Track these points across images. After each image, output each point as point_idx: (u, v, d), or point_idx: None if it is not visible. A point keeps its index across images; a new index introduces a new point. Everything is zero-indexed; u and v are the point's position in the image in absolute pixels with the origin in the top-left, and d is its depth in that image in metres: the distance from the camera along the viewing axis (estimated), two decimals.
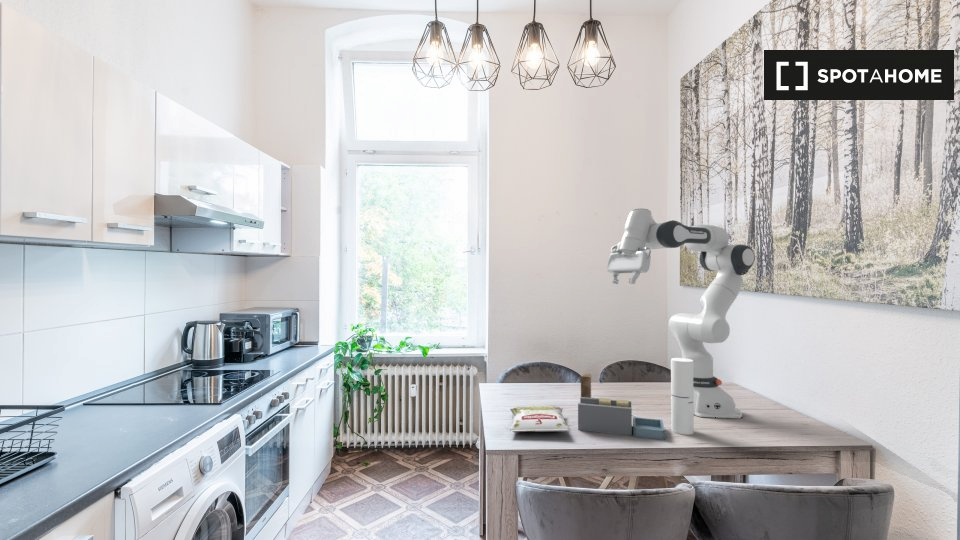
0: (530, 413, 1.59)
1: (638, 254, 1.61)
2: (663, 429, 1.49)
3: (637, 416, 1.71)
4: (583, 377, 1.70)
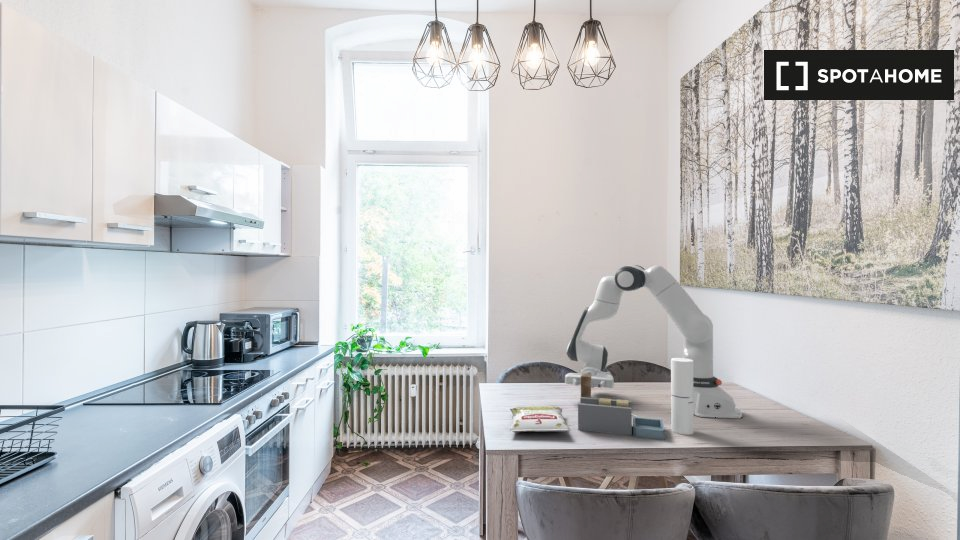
0: (530, 413, 1.59)
1: None
2: (663, 429, 1.49)
3: (637, 416, 1.72)
4: (583, 377, 1.70)
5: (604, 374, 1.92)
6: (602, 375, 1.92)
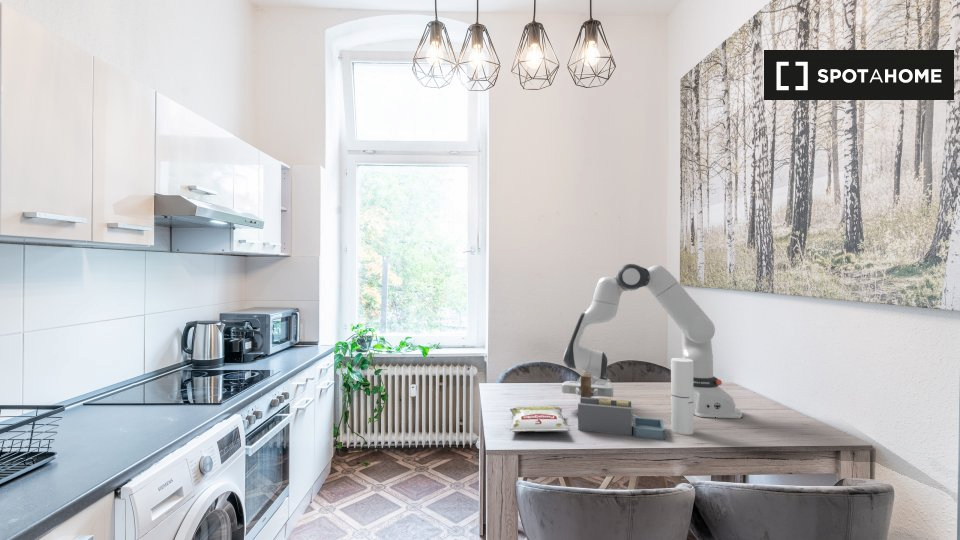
0: (530, 413, 1.59)
1: None
2: (663, 429, 1.49)
3: (637, 416, 1.72)
4: (583, 377, 1.70)
5: (603, 382, 1.80)
6: (601, 383, 1.80)
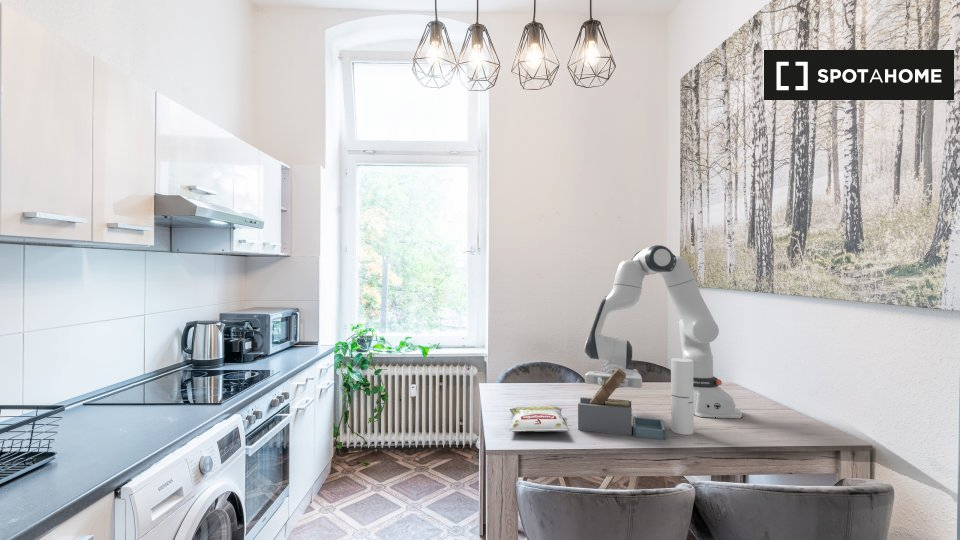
0: (529, 413, 1.59)
1: None
2: (663, 429, 1.49)
3: (636, 416, 1.72)
4: (619, 372, 1.56)
5: (630, 372, 1.66)
6: (628, 373, 1.66)
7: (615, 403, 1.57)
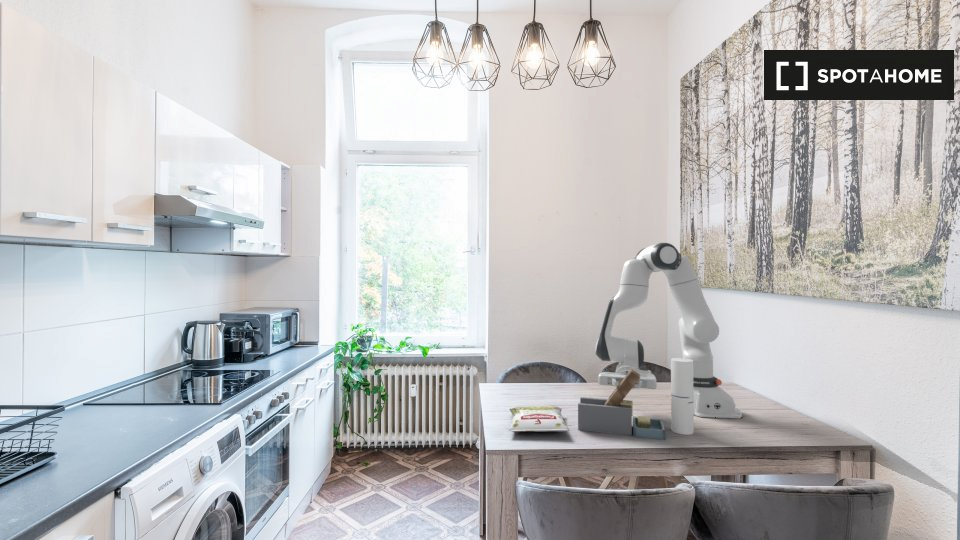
0: (529, 413, 1.59)
1: None
2: (663, 429, 1.49)
3: (636, 416, 1.72)
4: (633, 373, 1.55)
5: (644, 373, 1.65)
6: (642, 374, 1.65)
7: (631, 404, 1.55)
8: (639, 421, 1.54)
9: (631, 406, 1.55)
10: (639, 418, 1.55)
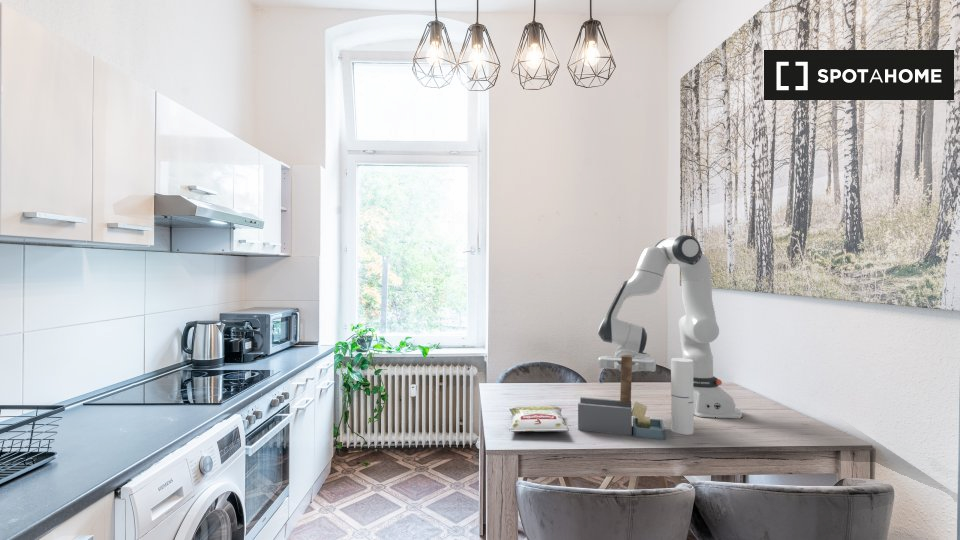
0: (529, 413, 1.59)
1: None
2: (663, 429, 1.49)
3: None
4: (624, 357, 1.56)
5: (643, 356, 1.66)
6: (641, 357, 1.66)
7: (644, 409, 1.53)
8: (639, 421, 1.54)
9: (644, 411, 1.53)
10: None
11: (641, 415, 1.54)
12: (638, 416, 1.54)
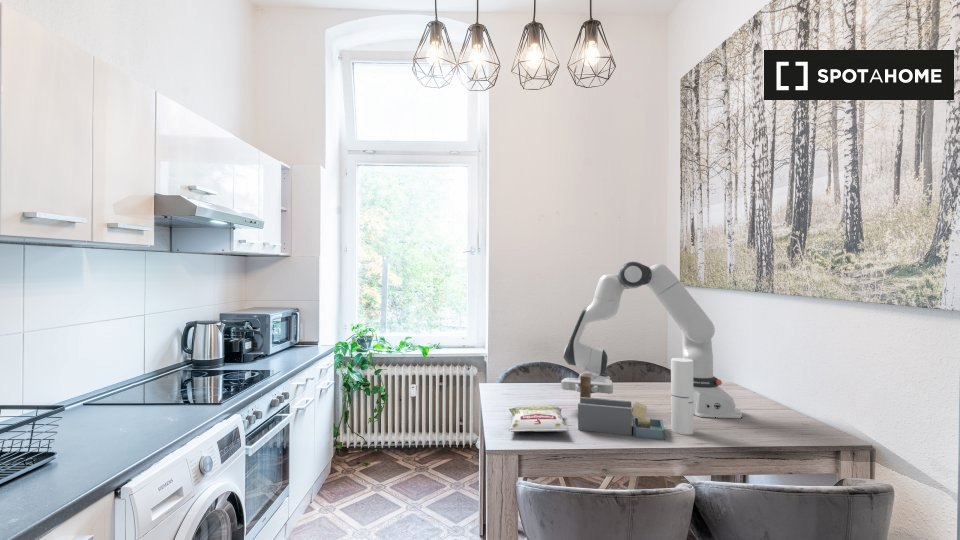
0: (529, 413, 1.59)
1: None
2: (663, 429, 1.49)
3: None
4: (583, 377, 1.70)
5: (603, 379, 1.80)
6: (601, 380, 1.80)
7: (644, 409, 1.53)
8: (639, 421, 1.54)
9: (644, 411, 1.53)
10: None
11: (641, 415, 1.54)
12: (638, 416, 1.54)
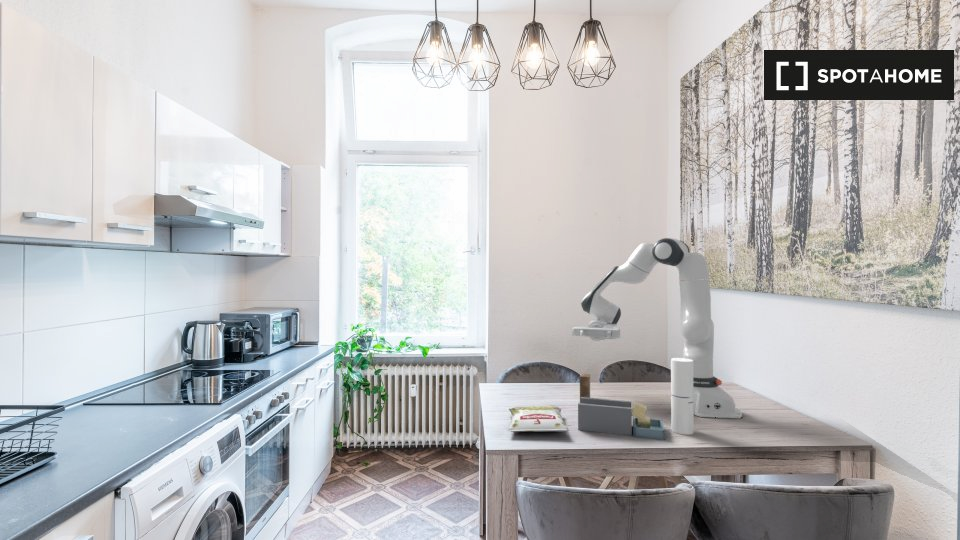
0: (529, 413, 1.59)
1: None
2: (663, 429, 1.49)
3: None
4: (582, 377, 1.70)
5: (611, 326, 1.95)
6: (609, 327, 1.95)
7: (644, 409, 1.53)
8: (639, 421, 1.54)
9: (644, 411, 1.53)
10: None
11: (641, 415, 1.54)
12: (638, 416, 1.54)
